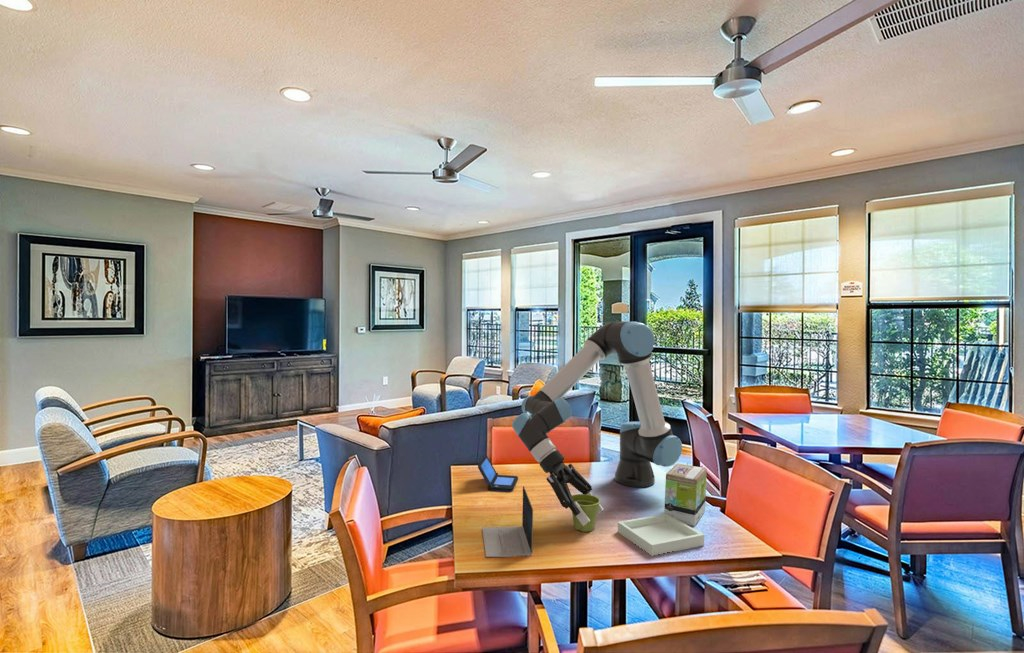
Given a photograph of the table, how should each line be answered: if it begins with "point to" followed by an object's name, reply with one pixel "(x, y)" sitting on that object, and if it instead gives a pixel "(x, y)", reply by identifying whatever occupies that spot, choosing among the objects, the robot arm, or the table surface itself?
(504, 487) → the handheld game console
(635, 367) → the robot arm
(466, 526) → the table surface
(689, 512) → the tea box
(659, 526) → the sage tray
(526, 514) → the laptop
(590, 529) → the plant pot
